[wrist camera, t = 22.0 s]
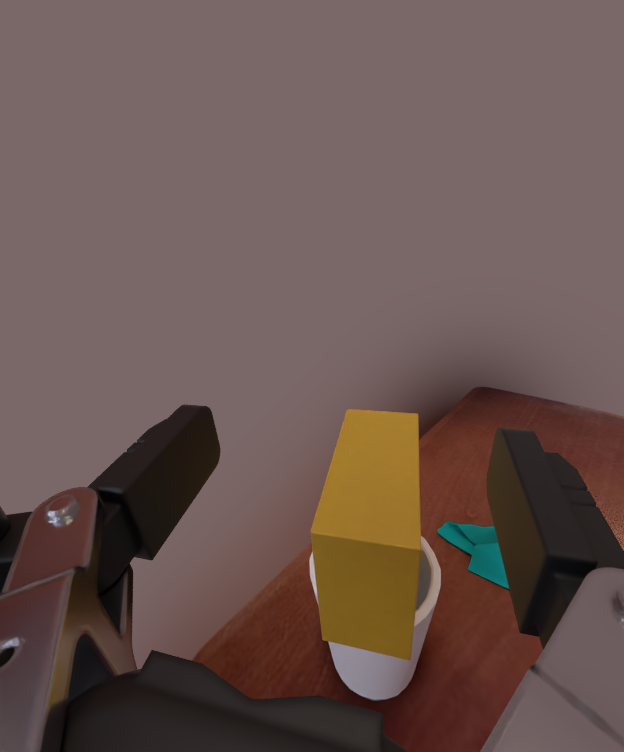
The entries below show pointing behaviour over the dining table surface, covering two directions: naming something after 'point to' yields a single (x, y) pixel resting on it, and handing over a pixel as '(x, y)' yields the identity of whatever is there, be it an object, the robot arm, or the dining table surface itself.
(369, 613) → the block
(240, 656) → the dining table surface
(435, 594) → the cup
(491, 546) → the cloth
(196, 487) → the robot arm
